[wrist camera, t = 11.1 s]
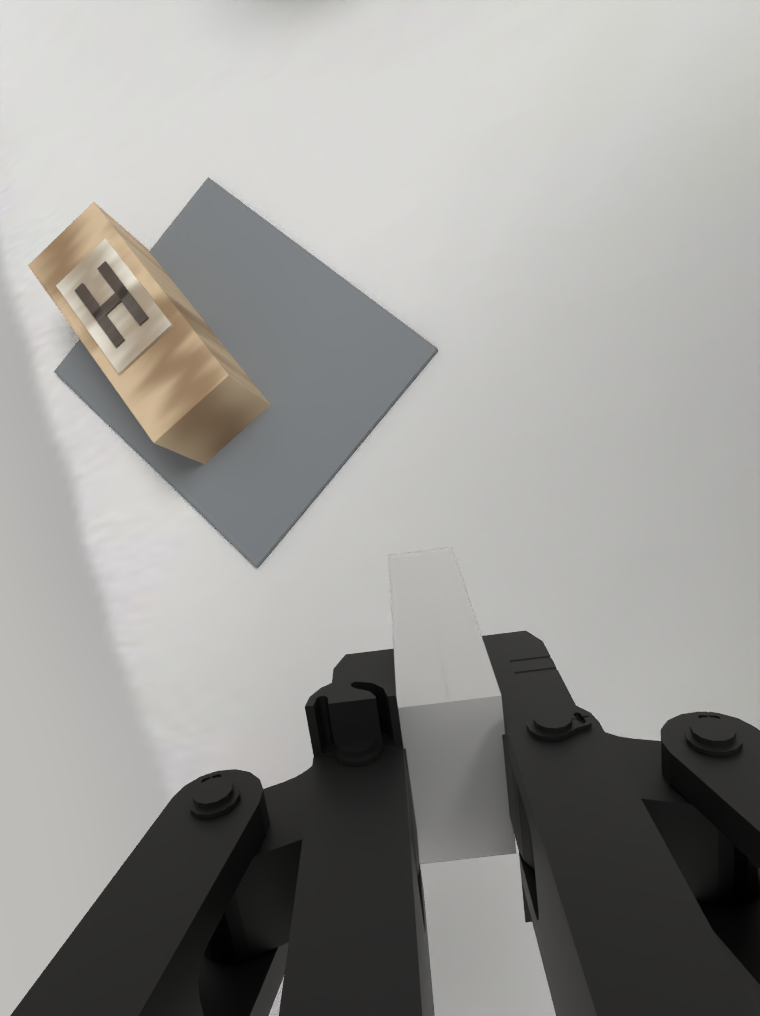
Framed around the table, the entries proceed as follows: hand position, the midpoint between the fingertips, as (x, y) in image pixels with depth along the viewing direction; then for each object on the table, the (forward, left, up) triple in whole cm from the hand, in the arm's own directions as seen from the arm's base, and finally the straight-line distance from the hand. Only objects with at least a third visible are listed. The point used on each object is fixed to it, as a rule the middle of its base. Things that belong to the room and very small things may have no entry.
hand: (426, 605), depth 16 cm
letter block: (+3, -21, -22) cm, 30 cm away
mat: (-1, -25, -25) cm, 35 cm away
